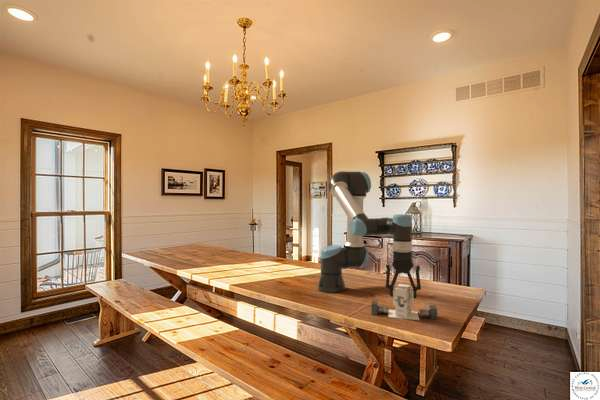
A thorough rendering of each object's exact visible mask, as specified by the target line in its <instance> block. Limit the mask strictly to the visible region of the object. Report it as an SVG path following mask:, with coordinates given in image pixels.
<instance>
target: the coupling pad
mask: <svg viewBox="0 0 600 400" xmlns="http://www.w3.org/2000/svg"><path fill="white" fill-rule="evenodd" d="M418 312H419V311H413V310H412V311H411V312H410V314H409V315H408V317H407V318H404V317H398V316H395V309H388V318H389V319H390V318H391V319H402V320H413V321H420V315H419V313H418Z"/></svg>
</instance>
